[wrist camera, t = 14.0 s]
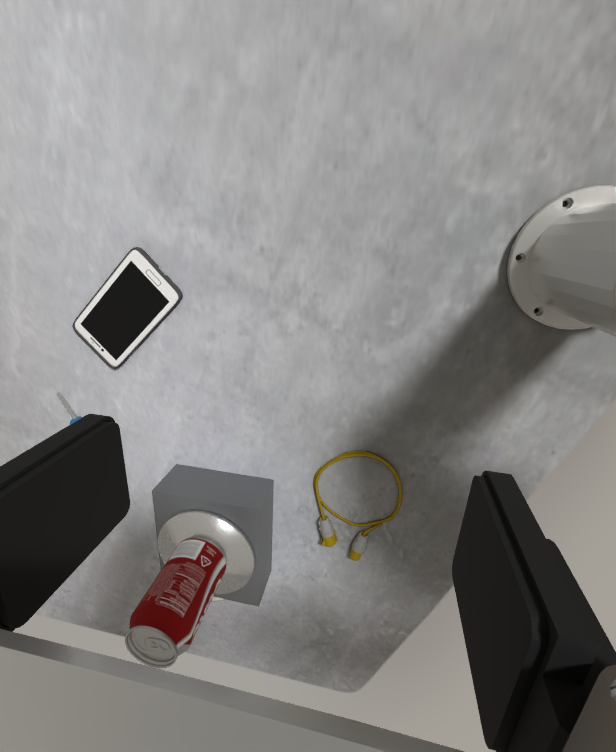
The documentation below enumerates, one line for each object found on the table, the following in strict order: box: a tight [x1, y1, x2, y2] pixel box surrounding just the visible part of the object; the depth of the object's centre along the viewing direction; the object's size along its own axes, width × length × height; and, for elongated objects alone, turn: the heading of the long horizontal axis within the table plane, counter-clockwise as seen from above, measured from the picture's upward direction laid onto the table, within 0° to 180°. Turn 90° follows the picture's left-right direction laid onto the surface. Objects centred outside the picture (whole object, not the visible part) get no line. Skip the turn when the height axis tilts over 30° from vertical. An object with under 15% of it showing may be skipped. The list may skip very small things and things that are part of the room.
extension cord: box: [313, 451, 402, 561], centre depth 49 cm, size 12×16×2 cm
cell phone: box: [73, 247, 183, 369], centre depth 46 cm, size 8×15×1 cm, turn 132°
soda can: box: [125, 537, 227, 668], centre depth 43 cm, size 7×7×12 cm
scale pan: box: [158, 509, 256, 594], centre depth 49 cm, size 13×13×1 cm
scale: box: [152, 464, 273, 606], centre depth 52 cm, size 14×17×6 cm
